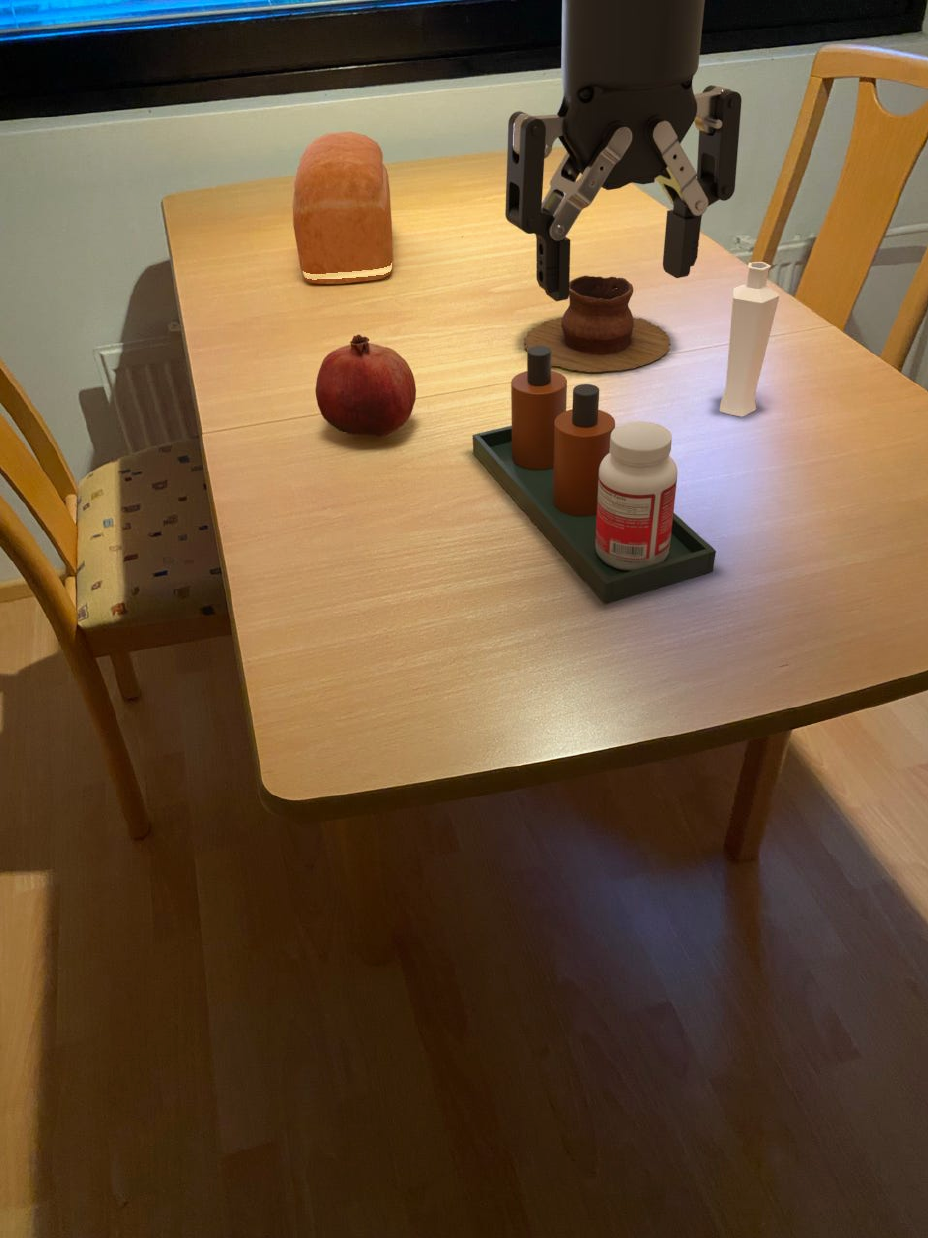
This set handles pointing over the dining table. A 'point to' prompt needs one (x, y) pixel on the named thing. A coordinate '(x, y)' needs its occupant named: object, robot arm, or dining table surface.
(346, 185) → the bread
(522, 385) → the amber bottle far
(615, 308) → the ceramic pot
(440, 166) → the dining table surface
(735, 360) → the white faceted vase
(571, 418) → the amber bottle middle
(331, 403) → the fruit
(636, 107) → the robot arm
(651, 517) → the pill bottle
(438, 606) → the dining table surface
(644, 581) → the tray
